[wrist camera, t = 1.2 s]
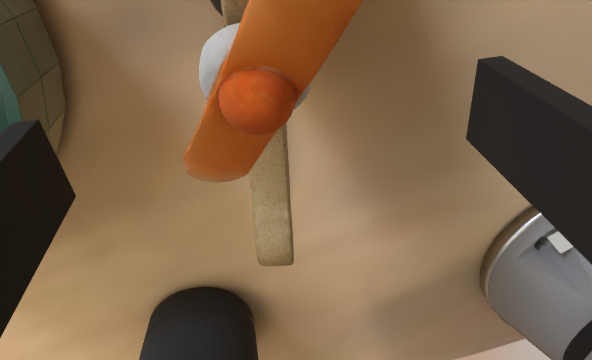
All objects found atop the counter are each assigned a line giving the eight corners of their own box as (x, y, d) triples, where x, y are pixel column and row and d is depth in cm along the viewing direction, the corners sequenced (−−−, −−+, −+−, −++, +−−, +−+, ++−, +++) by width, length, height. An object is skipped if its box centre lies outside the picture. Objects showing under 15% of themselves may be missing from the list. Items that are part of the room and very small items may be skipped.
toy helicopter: (329, -187, 19) (477, -336, 7) (329, 192, 30) (386, 364, 19) (143, -181, 18) (-12, -334, 7) (214, 204, 29) (202, 391, 18)
